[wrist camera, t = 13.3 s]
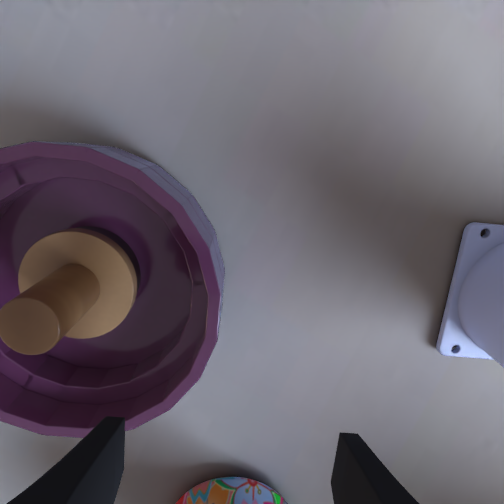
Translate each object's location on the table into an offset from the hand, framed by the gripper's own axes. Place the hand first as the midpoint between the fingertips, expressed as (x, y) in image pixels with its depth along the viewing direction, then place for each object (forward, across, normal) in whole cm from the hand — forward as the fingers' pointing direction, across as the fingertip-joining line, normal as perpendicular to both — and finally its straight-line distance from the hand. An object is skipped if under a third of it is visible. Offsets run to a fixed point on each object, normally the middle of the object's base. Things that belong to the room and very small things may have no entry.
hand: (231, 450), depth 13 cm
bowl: (+10, +8, -2) cm, 13 cm away
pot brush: (+10, +8, -2) cm, 13 cm away
